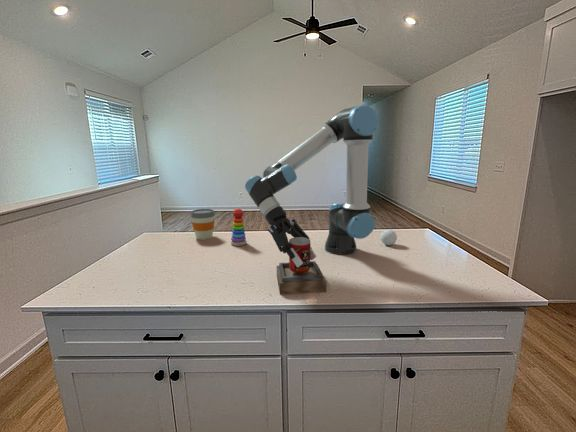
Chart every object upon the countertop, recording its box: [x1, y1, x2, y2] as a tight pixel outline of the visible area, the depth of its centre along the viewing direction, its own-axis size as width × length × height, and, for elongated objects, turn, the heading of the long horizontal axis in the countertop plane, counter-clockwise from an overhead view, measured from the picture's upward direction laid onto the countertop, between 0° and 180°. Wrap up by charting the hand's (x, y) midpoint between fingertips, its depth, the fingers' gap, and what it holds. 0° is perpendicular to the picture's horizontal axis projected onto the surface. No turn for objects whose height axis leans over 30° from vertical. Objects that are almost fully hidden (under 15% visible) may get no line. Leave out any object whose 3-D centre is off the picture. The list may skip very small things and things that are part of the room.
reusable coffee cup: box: [190, 208, 215, 240], centre depth 169 cm, size 13×13×15 cm
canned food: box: [288, 237, 311, 273], centre depth 110 cm, size 8×8×11 cm
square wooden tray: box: [276, 260, 327, 295], centre depth 111 cm, size 16×16×6 cm
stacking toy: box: [230, 208, 247, 247], centre depth 156 cm, size 8×8×19 cm
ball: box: [380, 229, 398, 246], centre depth 154 cm, size 8×8×8 cm
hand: (307, 261), depth 108 cm, fingers closed on canned food, 8 cm apart
